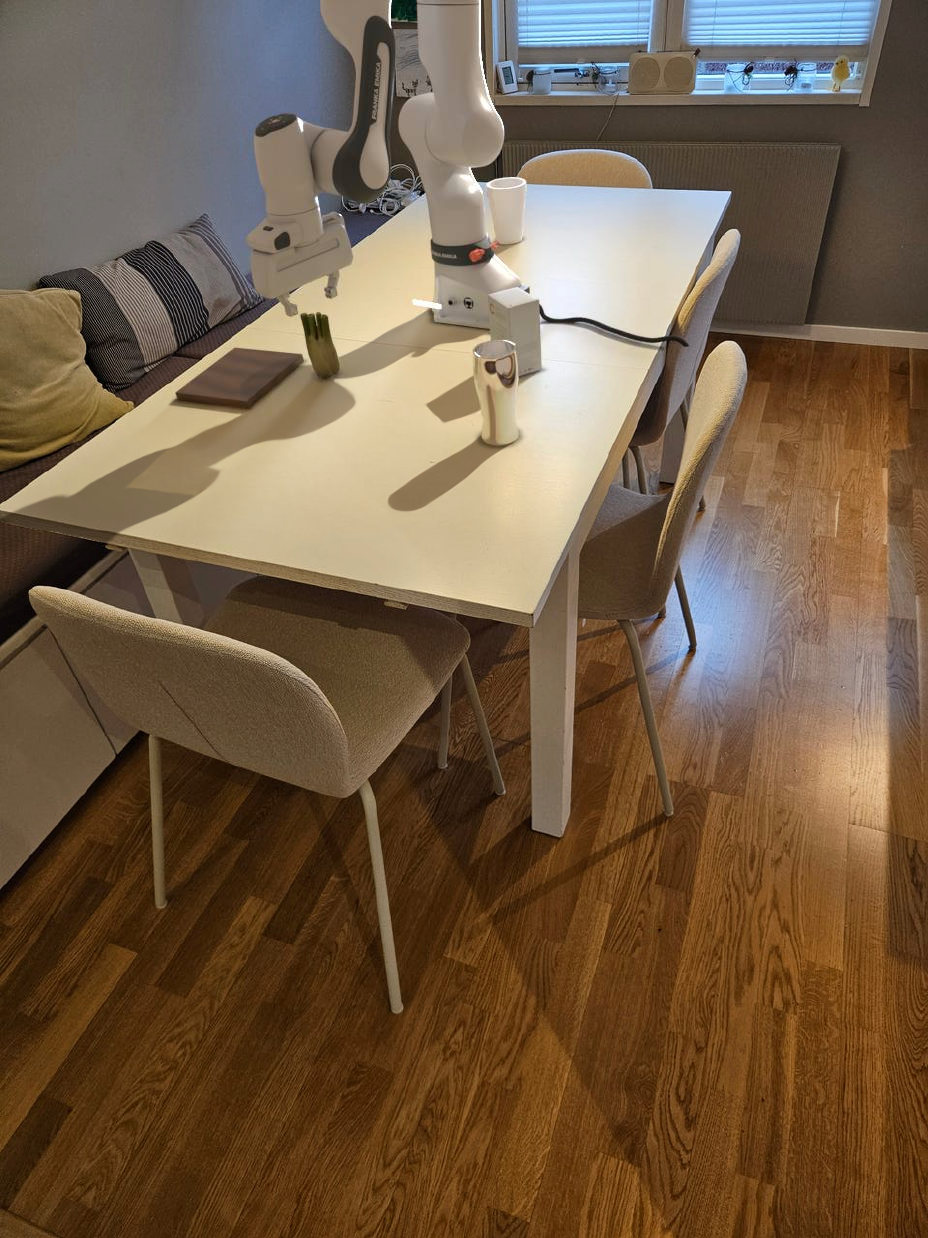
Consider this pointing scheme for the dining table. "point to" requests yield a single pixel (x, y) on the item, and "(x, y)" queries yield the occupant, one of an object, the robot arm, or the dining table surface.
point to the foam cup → (507, 208)
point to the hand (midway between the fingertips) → (312, 305)
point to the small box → (517, 325)
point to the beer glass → (496, 390)
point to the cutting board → (240, 377)
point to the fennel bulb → (320, 344)
